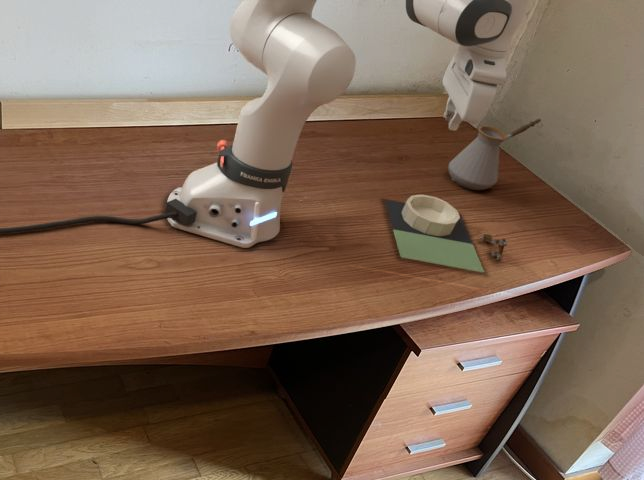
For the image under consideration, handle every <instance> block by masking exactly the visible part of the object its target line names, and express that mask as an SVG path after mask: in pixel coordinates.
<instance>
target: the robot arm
mask: <svg viewBox="0 0 644 480" xmlns="http://www.w3.org/2000/svg"><path fill="white" fill-rule="evenodd" d="M317 1H318V0H242V1H241V3H240V4H239V5H238V7H237V8H236V9H235V11H234V13H233V15H232V18H231V21H230V27H229V34H230V39H231V42H232V44H233V46H235V48H236V49H237V50H238V52H239V54H241V56H242V57H243V59H244V60H245V61H247V62H248V63H249V64H251V65H252V66H253V67H255V68H256V69H258V70H259V71H260V72H262V73H263V74H265V75H266V76H267V86H266V90H265V91H264V93H263V95H262V96H259V97H256V98H253V99H252V100H250V101H248V102H247V103H245V105H244V106H243V107H242V108H241V110H240V113H239V117H238V121H237V126H236V129H235V135H234V138H233V142H232V144H231V145H229V143H228V141H227V140H225V139H221V140H219V141H218V142H217V145H216V151H217V152H218V157H217V162H214V163H211V164H210V165H205V166H203V167H202V168H199V169H196V170H193V171H192V172H191V173H189V174H188V176H187V177H186V179H185V181H184V182H183V185H182V187H181V186H180V187H177V188H174V189H173V190H172V191H171V193H169V195H168V197H167V201H166V204H165V210H164V213H163V214H159V215H153V216H149V217H145V218H135V219H134V218H124V217H117V216H109V215H94V216H93V215H92V216H85V217H79V218H73V219H67V220H59V221H52V222H46V223H38V224H31V225H22V226H21V225H20V226H13V227H11V226H10V227H1V228H0V235H4V234H13V233H14V234H15V233H24V232H32V231H39V230H47V229H53V228H59V227H66V226H67V227H68V226H73V225H79V224H84V223H93V222H112V223H119V224H125V225H145V224H150V223H152V222H157V221H162V220H167V222H168V223H169V225H171V227H172V228H175V229H178V230H181V231H184V232H188V233H191V234H194V235H198V236H202V237H205V238H208V239H211V240H215V241H219V242H222V243H225V244H229V245H232V246H235V247H239V248H242V249H249V248H252V247H253V246H254V245H256V244H258V243H262V242H267V241H270V240H272V239H274V238H276V236H278V235H279V233H280V230H281V209H282V202H283V196H284V192H285V191H286V189H287V187H288V184H289V181H290V178H291V175H292V172H293V165H294V164H293V157H294V154H295V151H296V148H297V146H298V142H299V139H300V136H301V133H302V130H303V128H304V127H305V124H306V122H307V121H308V119H309V118H310V116H311V115H312V114H313V113H314V111H316V110H317V109H318V108H320V107H321V106H324V105H327V104H330V103H331V102H332V103H333V102H334V101H335V100H337V99H338V98H340V97H341V96H342V95H343V94H344V93H345V92H346V90H347V89H348V88H349V86H350V84H351V83H352V80H353V77H354V75H355V72H356V65H357V63H356V62H357V60H356V56H355V53H354V51H353V49H352V48H351V47H350V46H349V44H348V43H347V42H346V41H345V40H344V39H343V37H341V36H340V35H339V34H338V33H337V32H336V31H334V30H333V29H331V28H330V27H328V26H327V25H325V24H323V23H322V22H320V21H318V20H317V19H315V18H314V17H313V10H314V7H315V5H316V3H317ZM531 2H532V0H405V11H406V14H407V17H408V18H409V19H410V20H411V22H413V23H416V24H417V25H420V26H423V27H425V28H428V29H430V30H431V31H433V32H434V33H436V34H438V35H440V36H441V37H443V38H445V39H448V40H449V41H451V42H453V43H454V44H456V45H458V48H457V49H456V52H455V53H454V54H453V56H452V58H451V59H450V61H449V64H448V66H447V68H446V70H445V73H444V75H443V77H442V85H443V87H444V89H445V91H446V93H447V95H448V98H447V101H446V107H445V111H444V113H443V119H444V121H445V122H448V123H447V127H448V130H449V131H454V132H456V131H458V129H459V126H460V125H461V123H462V122H464V123H465V122H466V123H470V124H475V125H477V124H479V123H480V122H481V121H482V120H483V119H484V118H485V116H486V114H487V113H488V110H489V109H490V107H491V105H492V103H493V101H494V99H495V97H496V95H497V92H498V86H502V85H504V83H505V81H506V78H507V71H506V62H507V61H506V60H507V58H506V56H507V55H508V53H509V51H510V48H511V45H512V39H513V37H514V35H515V33H516V32H517V31H518V29H520V27H521V25H522V23H523V20H524V19H525V16H526V14H527V11H528V9H529V7H530V4H531Z"/></svg>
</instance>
